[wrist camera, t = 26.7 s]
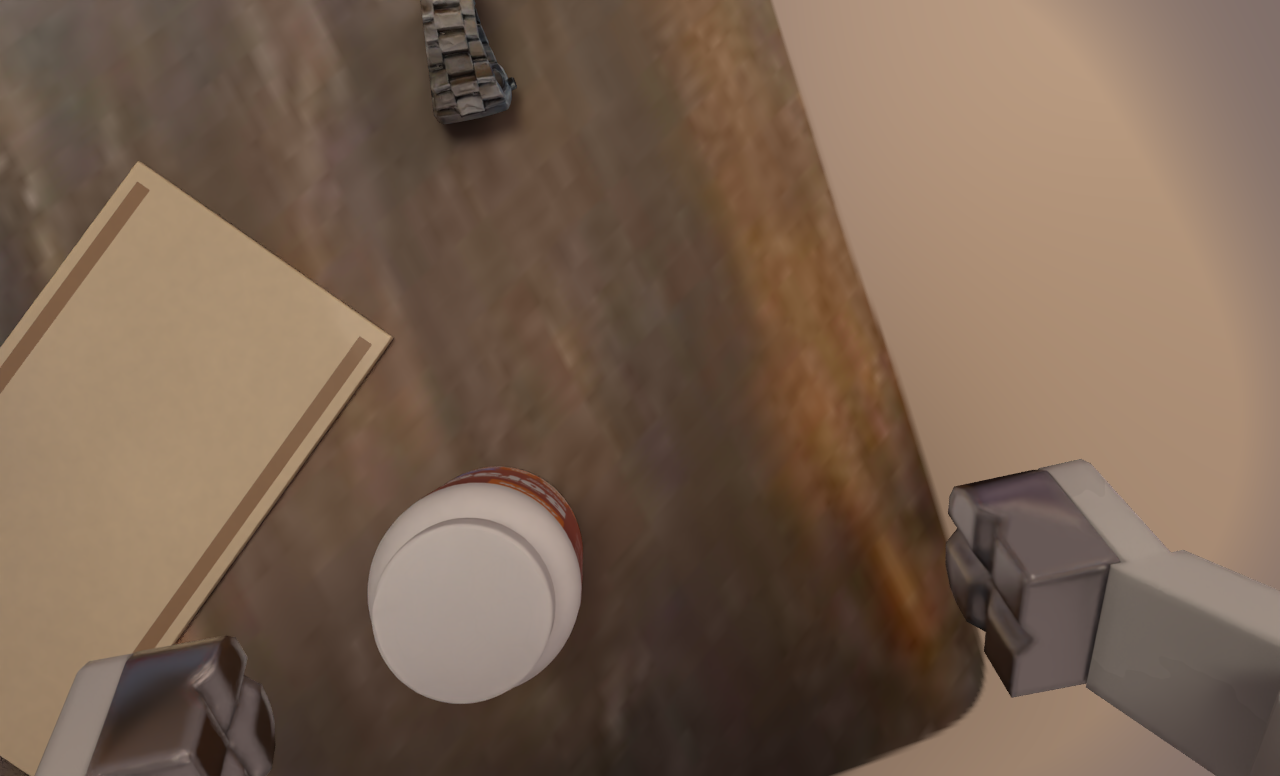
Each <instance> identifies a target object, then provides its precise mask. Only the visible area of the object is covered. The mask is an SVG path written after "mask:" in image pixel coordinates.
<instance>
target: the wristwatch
mask: <svg viewBox="0 0 1280 776" xmlns="http://www.w3.org/2000/svg"><path fill="white" fill-rule="evenodd" d="M420 1H421V9H422V17H423V26H424V34H425V44H426V52H427V60H428V69H429V77H430V86H431V95H432V103H433V112H434V116H435V117H436V119H437V120H438V121H439V123H441V124H450V123H456V122H461V121H467V120H472V119H477V118H481V117H485V116H489V115H493V114H496V113H499V112H502V111H506V110H507V109H508V108H509V106H510V103H511V100H512V90H514V89H516V88H517V85H516V82H515V80H514V78H512V77H511V78H508V77H507V75H506V73H505V71H504V70H503V68H502V66H501V65H499V64H498V63H497V61H496V59H495V56H494V54H493V52H492V50H491V48H490V46H489V42H488V39H487V37H486V35H485V33H484V30H483V28H482V26H481V23H480V20H479V17H478V13H477V9H476V8H475V4H476V3H475V1H474V0H420Z"/></svg>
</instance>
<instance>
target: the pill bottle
mask: <svg viewBox="0 0 1280 776" xmlns="http://www.w3.org/2000/svg"><path fill="white" fill-rule="evenodd" d="M582 566H583V546H582V538H581V533H580V529H579V526H578V523H577V521H576V518H575V516H574V514H573V512H572V510H571V508H570V506H569V505H568V503H567V502H566V500H565V499H564V498H563V497H562V495H561V494H560V493H559V492H558V491H557V490H556V489H555V488H554V487H553V486H551V485H550V484H549V483H548V482H546V481H545V480H543V479H542V478H540V477H538V476H536V475H534V474H532V473H529V472H527V471H524V470H520V469H517V468H511V467H499V466H496V467H485V468H480V469H476V470H473V471H470V472H467V473H464V474H462V475H460V476H458V477H456V478H454V479H452V480H451V481H449V482H447V483H446V484H444V485H443V486H441V487H439V488H438V489H436V490H434V491H433V492H431V493H429V494H428V495H426V496H424V497H423V498H421V499H420V500H418V501H417V502H415V503H414V504H413V505H412V506H410V507H409V508H408V509H407V510H406V511H405V512H404V513H403V514H401V515H400V516H399V517H398V518H397V519H396V521H395V522H394V523H393V524H392V525H391V527H390V528H389V529H388V531H387V532H386V534H385V535H384V537H383V538H382V540H381V541H380V543H379V545H378V548H377V550H376V552H375V555H374V558H373V561H372V564H371V568H370V573H369V579H368V606H369V613H370V618H371V622H372V627H373V632H374V638H375V641H376V644H377V647H378V650H379V652H380V654H381V656H382V658H383V660H384V661H385V663H386V664H387V666H388V667H389V669H390V670H391V671H392V672H393V673H394V675H395V676H396V677H397V678H398V679H399V680H400V681H402V682H403V683H404V684H405V685H406V686H408V687H409V688H411V689H412V690H414V691H415V692H417V693H419V694H421V695H423V696H425V697H427V698H430V699H433V700H437V701H441V702H446V703H451V704H468V703H476V702H480V701H485V700H488V699H491V698H494V697H496V696H499V695H501V694H503V693H505V692H507V691H508V690H510V689H511V688H514V687H516V686H519V685H521V684H523V683H525V682H527V681H528V680H530V679H531V678H533V677H534V676H536V675H537V674H538V673H540V672H541V671H542V670H543V669H544V668H545V667H547V666H548V665H549V664H550V663H551V662H552V660H553V659H554V658H555V657H556V656H557V655H558V653H559V652H560V651H561V649H562V648H563V646H564V645H565V643H566V641H567V639H568V638H569V636H570V634H571V632H572V629H573V627H574V624H575V621H576V618H577V614H578V611H579V608H580V605H581V592H582V578H583V574H582V571H583V568H582Z"/></svg>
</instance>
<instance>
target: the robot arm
mask: <svg viewBox="0 0 1280 776" xmlns="http://www.w3.org/2000/svg"><path fill="white" fill-rule="evenodd" d="M948 514H949V516H950V517H951V519H952V520H953V522H954V524H955V525H956V527H957V530H956V531H955V532H954V533H953V534H952V536H951V537H950V538H949V539H948V541H947V542H946V569H947V574H948V579H949V584H950V588H951V591H952V593H953V596H954V598H955V601H956V603H957V605H958V607H959V609H960V611H961V612H962V614H963V616H964V618H965V619H966V621H967V622H969V623H971V624H972V625H974V626H976V627H978V628H980V629H982V630H983V631H985V632H986V635H985V646H984V652H985V654H986V655H987V657H988V659H989V660H990V662H991V664H992V666H993V667H994V669H995V670H996V672H997V674H998V676H999V677H1000V679H1001V681H1002V682H1003V684H1004V686H1005V687H1006V689H1007V691H1008V692H1009V694H1010V696H1011V697H1017V696H1023V695H1028V694H1033V693H1039V692H1044V691H1049V690H1054V689H1059V688H1065V687H1070V686H1076V685H1081V684H1086V683H1087V684H1086V688H1088V689H1089V690H1091V691H1092V692H1094V693H1095V694H1096V695H1098V696H1100V697H1101V698H1102V699H1104V700H1105V701H1107V702H1108V703H1110V704H1111V705H1113V706H1114V707H1116V708H1117V709H1119V710H1120V711H1122V712H1123V713H1125V714H1126V715H1127V716H1129V717H1130V718H1132V719H1133V720H1135V721H1136V722H1138V723H1139V724H1141V725H1142V726H1144V727H1145V728H1147V729H1148V730H1149V731H1151V732H1153V733H1154V734H1155V735H1157V736H1158V737H1160V738H1161V739H1163V740H1164V741H1166V742H1167V743H1169V744H1170V745H1172V746H1173V747H1175V748H1176V749H1178V750H1179V751H1181V752H1182V753H1183V754H1185V755H1186V756H1188V757H1189V758H1191V759H1192V760H1194V761H1195V762H1197V763H1198V764H1200V765H1201V766H1202V767H1204V768H1206V769H1207V770H1208V771H1210V772H1212V773H1213V774H1214V775H1216V776H1280V591H1279V590H1277V589H1274V588H1272V587H1270V586H1267V585H1265V584H1263V583H1260V582H1258V581H1256V580H1253V579H1251V578H1249V577H1246V576H1244V575H1241V574H1239V573H1237V572H1234V571H1232V570H1230V569H1227V568H1225V567H1223V566H1220V565H1218V564H1215V563H1213V562H1211V561H1208V560H1206V559H1204V558H1201V557H1199V556H1196V555H1194V554H1192V553H1189V552H1187V551H1185V550H1181V551H1176V552H1170V551H1169V550H1168V549H1167V548H1166V547H1165V545H1164V544H1163V543H1162V542H1161V541H1160V540H1159V539H1158V538H1157V537H1156V535H1155V534H1154V533H1153V532H1152V531H1151V530H1150V529H1149V528H1148V527H1147V525H1146V524H1144V522H1143V521H1142V520H1141V519H1140V518H1139V517H1138V515H1137V514H1135V512H1134V511H1133V510H1132V509H1131V508H1130V507H1129V505H1128V504H1127V503H1126V502H1125V501H1124V500H1123V499H1122V498H1121V497H1120V496H1119V495H1118V493H1117V492H1116V491H1115V490H1114V489H1113V488H1112V487H1111V486H1110V484H1109V483H1108V482H1107V481H1106V480H1105V479H1104V478H1103V477H1102V476H1101V474H1100V473H1099V472H1098V471H1097V470H1096V469H1095V468H1094V467H1093V466H1092V465H1091V463H1089V462H1086V461H1084V460H1082V459H1079V460H1075V461H1070V462H1065V463H1061V464H1056V465H1052V466H1047V467H1043V468H1039V469H1038V470H1031V471H1026V472H1021V473H1016V474H1012V475H1007V476H1003V477H997V478H993V479H988V480H983V481H979V482H974V483H970V484H965V485H960V486H956V487H954V488H953V490H952V492H951V494H950V497H949V509H948ZM246 661H247V656H246V654H245V653H244V651H243V649H242V647H241V646H240V644H239V642H238V641H237V639H236V637H231V636H221V637H215V638H209V639H204V640H198V641H193V642H187V643H182V644H176V645H170V646H165V647H159V648H154V649H148V650H143V651H137V652H135V653H133V654H127V655H121V656H115V657H109V658H104V659H98V660H92V661H89V662H88V663H86V664H85V665H84V666H83V667H82V668H81V669H80V670H79V671H78V673H77V674H76V676H75V679H74V681H73V684H72V686H71V689H70V691H69V693H68V696H67V698H66V701H65V703H64V705H63V708H62V710H61V713H60V715H59V718H58V720H57V722H56V725H55V727H54V730H53V732H52V735H51V737H50V739H49V742H48V744H47V747H46V749H45V752H44V754H43V756H42V759H41V761H40V764H39V766H38V769H37V771H36V773H35V776H266V775H267V774H268V773H269V772H270V770H271V769H272V764H273V758H274V751H275V726H274V716H273V712H272V709H271V705H270V702H269V699H268V697H267V695H266V693H265V691H264V689H263V687H262V685H261V684H260V683H258V682H256V681H254V680H252V679H250V678H248V677H246V676H244V670H245V666H246Z"/></svg>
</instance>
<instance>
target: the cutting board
mask: <svg viewBox="0 0 1280 776" xmlns="http://www.w3.org/2000/svg"><path fill="white" fill-rule="evenodd" d="M392 340H393V337H392V336H390V335H389V334H388V333H386V332H385V331H383V330H382V329H380V328H379V327H378V326H376V325H375V324H373V323H372V322H370V321H369V320H367V319H366V318H365V317H363V316H362V315H360V314H359V313H357V312H356V311H355V310H353V309H352V308H350V307H349V306H347V305H346V304H344V303H343V302H342V301H340V300H339V299H337V298H336V297H334V296H333V295H332V294H330V293H329V292H327V291H326V290H324V289H323V288H321V287H320V286H319V285H317V284H316V283H314V282H313V281H311V280H310V279H309V278H307V277H306V276H304V275H303V274H301V273H300V272H298V271H297V270H296V269H294V268H293V267H291V266H290V265H288V264H287V263H286V262H284V261H283V260H281V259H280V258H278V257H277V256H276V255H274V254H273V253H271V252H270V251H268V250H267V249H265V248H264V247H263V246H261V245H260V244H258V243H257V242H255V241H254V240H253V239H251V238H250V237H248V236H247V235H245V234H244V233H242V232H241V231H240V230H238V229H237V228H235V227H234V226H232V225H231V224H230V223H228V222H227V221H225V220H224V219H222V218H221V217H219V216H218V215H217V214H215V213H214V212H212V211H211V210H209V209H208V208H207V207H205V206H204V205H202V204H201V203H199V202H198V201H196V200H195V199H194V198H192V197H191V196H189V195H188V194H186V193H185V192H184V191H182V190H181V189H179V188H178V187H176V186H175V185H174V184H172V183H171V182H169V181H168V180H166V179H165V178H163V177H162V176H161V175H159V174H158V173H156V172H155V171H153V170H152V169H151V168H149V167H148V166H146V165H145V164H143V163H142V162H140V161H138V162H137V163H136V164H135V166H134V167H133V168H132V170H131V171H130V172H129V174H128V175H127V176H126V178H125V179H124V180H123V182H122V183H121V185H120V186H119V187H118V189H117V190H116V191H115V193H114V194H113V195H112V197H111V198H110V199H109V201H108V202H107V204H106V205H105V206H104V208H103V209H102V210H101V212H100V213H99V214H98V216H97V217H96V218H95V220H94V221H93V223H92V224H91V225H90V227H89V228H88V229H87V231H86V232H85V233H84V235H83V236H82V237H81V239H80V240H79V242H78V243H77V244H76V246H75V247H74V248H73V250H72V251H71V252H70V254H69V255H68V256H67V258H66V259H65V261H64V262H63V263H62V265H61V266H60V267H59V269H58V270H57V271H56V273H55V274H54V275H53V277H52V278H51V280H50V281H49V282H48V284H47V285H46V286H45V288H44V289H43V290H42V292H41V293H40V294H39V296H38V297H37V299H36V300H35V301H34V303H33V304H32V305H31V307H30V308H29V309H28V311H27V312H26V313H25V315H24V316H23V318H22V319H21V320H20V322H19V323H18V324H17V326H16V327H15V328H14V330H13V331H12V332H11V334H10V335H9V337H8V338H7V339H6V341H5V342H4V343H3V345H2V346H1V347H0V756H1V757H3V758H4V759H6V760H7V761H9V762H10V763H12V764H13V765H15V766H16V767H18V768H19V769H21V770H22V771H24V772H25V773H27V774H28V775H30V776H35V773H36V771H37V769H38V766H39V764H40V761H41V759H42V756H43V754H44V752H45V749H46V747H47V744H48V742H49V739H50V737H51V735H52V732H53V730H54V727H55V725H56V722H57V720H58V718H59V715H60V713H61V710H62V708H63V705H64V703H65V701H66V698H67V696H68V693H69V691H70V689H71V686H72V684H73V681H74V679H75V676H76V674H77V673H78V671H79V670H80V669H81V668H82V667H83V666H84V665H85V664H86V663H88V662H89V661H92V660H98V659H104V658H109V657H115V656H121V655H127V654H133V653H135V652H137V651H143V650H148V649H154V648H159V647H165V646H170V645H174V644H175V643H176V642H177V640H178V639H179V637H180V636H181V635H182V633H183V632H184V630H185V629H186V628H187V626H188V625H189V623H190V622H191V621H192V619H193V618H194V616H195V615H196V614H197V612H198V611H199V609H200V608H201V607H202V605H203V604H204V602H205V601H206V600H207V598H208V597H209V595H210V594H211V593H212V591H213V590H214V588H215V587H216V586H217V584H218V583H219V581H220V580H221V579H222V577H223V576H224V574H225V573H226V572H227V570H228V569H229V567H230V566H231V565H232V563H233V562H234V560H235V559H236V558H237V556H238V555H239V553H240V552H241V551H242V549H243V548H244V546H245V545H246V544H247V542H248V541H249V539H250V538H251V537H252V535H253V534H254V533H255V531H256V530H257V528H258V527H259V526H260V524H261V523H262V521H263V520H264V519H265V517H266V516H267V514H268V513H269V512H270V510H271V509H272V507H273V506H274V505H275V503H276V502H277V500H278V499H279V498H280V496H281V495H282V493H283V492H284V491H285V489H286V488H287V486H288V485H289V484H290V482H291V481H292V479H293V478H294V477H295V475H296V474H297V472H298V471H299V470H300V468H301V467H302V465H303V464H304V463H305V461H306V460H307V458H308V457H309V456H310V454H311V453H312V451H313V450H314V449H315V447H316V446H317V444H318V443H319V442H320V440H321V439H322V437H323V436H324V435H325V433H326V432H327V430H328V429H329V428H330V426H331V425H332V423H333V422H334V421H335V419H336V418H337V416H338V415H339V414H340V412H341V411H342V410H343V408H344V407H345V405H346V404H347V403H348V401H349V400H350V398H351V397H352V396H353V394H354V393H355V391H356V390H357V389H358V387H359V386H360V384H361V383H362V382H363V380H364V379H365V377H366V376H367V375H368V373H369V372H370V370H371V369H372V368H373V366H374V365H375V363H376V362H377V361H378V359H379V358H380V356H381V355H382V354H383V352H384V351H385V349H386V348H387V347H388V345H389V344H390V342H391V341H392Z"/></svg>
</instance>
